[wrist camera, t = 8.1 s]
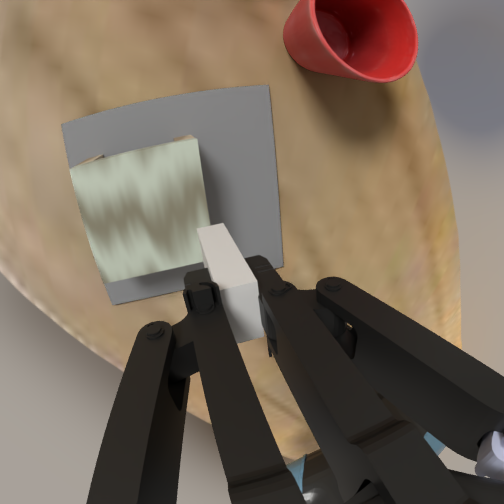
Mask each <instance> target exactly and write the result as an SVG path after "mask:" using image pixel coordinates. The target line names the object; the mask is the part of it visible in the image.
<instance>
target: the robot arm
mask: <svg viewBox="0 0 504 504" xmlns="http://www.w3.org/2000/svg"><path fill="white" fill-rule="evenodd" d="M197 233H198V238H199V243H200V248H201V253H202V258H203V262H204V267H205V268H203V269H199V270H195V271H190V272H187V273H186V275H185V277H184V285H185V289H184V291H183V297H184V301H185V304H186V308H187V311H188V314H187V316H186V317H185V318H184V319H183V320H182V321H180V322H179V323H177V324H175V325H173V326H171V325H170V324H169V323H167V322H165V321H156V322H151V323H149V324H147V325H145V326H144V327H143V328H141V329H140V331H139V332H138V334H137V337H136V340H135V343H134V345H133V348H132V351H131V354H130V356H129V359H128V362H127V365H126V368H125V371H124V374H123V377H122V380H121V383H120V385H119V388H118V392H117V395H116V398H115V401H114V404H113V407H112V410H111V413H110V417H109V420H108V423H107V427H106V430H105V433H104V437H103V440H102V444H101V448H100V451H99V455H98V459H97V462H96V467H95V470H94V474H93V478H92V482H91V487H90V490H89V495H88V499H87V504H176V501H177V489H178V479H179V470H180V459H181V451H182V441H183V433H184V424H185V416H186V409H187V401H188V393H189V386H190V376H191V375H193V374H194V373H196V372H198V371H199V372H200V376H201V381H202V385H203V390H204V394H205V398H206V403H207V407H208V411H209V415H210V419H211V423H212V427H213V431H214V435H215V439H216V443H217V446H218V450H219V453H220V457H221V461H222V464H223V468H224V471H225V475H226V478H227V482H228V492H229V496H230V500H231V503H232V504H504V377H503V376H502V375H500V374H499V373H497V372H495V371H494V370H493V369H491V368H489V367H488V366H486V365H485V364H483V363H482V362H480V361H478V360H477V359H475V358H474V357H472V356H470V355H469V354H467V353H466V352H464V351H462V350H461V349H459V348H458V347H456V346H454V345H453V344H451V343H450V342H448V341H446V340H445V339H443V338H441V337H440V336H438V335H437V334H435V333H433V332H432V331H430V330H428V329H427V328H425V327H424V326H422V325H420V324H419V323H417V322H415V321H414V320H412V319H410V318H409V317H407V316H405V315H404V314H402V313H400V312H399V311H397V310H395V309H394V308H392V307H390V306H389V305H387V304H385V303H384V302H382V301H380V300H379V299H377V298H375V297H374V296H372V295H370V294H369V293H367V292H365V291H364V290H362V289H360V288H358V287H357V286H355V285H353V284H352V283H350V282H348V281H346V280H345V279H342V278H339V277H327V278H323V279H321V280H320V281H318V282H317V284H316V289H313V290H297V288H296V287H295V286H294V285H293V284H292V283H290V282H287V281H283V280H282V278H281V277H280V276H279V274H278V273H277V272H276V270H275V269H274V268H273V266H272V265H271V264H270V262H269V261H268V259H267V258H265V257H263V256H261V255H256V256H252V257H247V258H243V256H242V254H241V252H240V251H239V249H238V247H237V246H236V244H235V242H234V241H233V239H232V237H231V235H230V234H229V232H228V230H227V229H226V227H225V225H224V223H220V224H216V225H211V226H206V227H202V228H197ZM347 323H349V324H350V325H351V326H352V328H351V327H350V326H348V325H347ZM263 328H264V330H265V332H266V334H267V343H268V351H269V357H272V354H273V356H274V358H275V360H276V362H277V364H278V366H279V368H280V370H281V372H282V374H283V376H284V378H285V380H286V382H287V384H288V386H289V388H290V390H291V392H292V394H293V396H294V398H295V400H296V402H297V404H298V406H299V408H300V410H301V412H302V414H303V416H304V418H305V420H306V422H307V423H308V425H309V427H310V429H311V431H312V433H313V435H314V437H315V439H316V441H317V443H318V445H319V447H320V449H319V450H317V451H314V452H312V453H310V454H305V455H304V456H303V457H302V458H300V459H297V460H295V461H294V462H291V463H289V464H287V465H285V462H284V460H283V458H282V455H281V453H280V451H279V448H278V446H277V444H276V441H275V439H274V436H273V434H272V432H271V429H270V427H269V424H268V422H267V420H266V417H265V415H264V412H263V410H262V407H261V405H260V402H259V400H258V397H257V395H256V392H255V390H254V387H253V385H252V382H251V380H250V377H249V374H248V372H247V369H246V367H245V364H244V361H243V359H242V356H241V353H240V351H239V348H238V345H237V344H238V343H241V342H245V341H249V340H253V339H256V338H260V337H264V331H263ZM446 446H447V447H448V448H450V449H451V450H453V451H454V452H456V453H457V454H459V455H461V456H464V457H465V458H467V459H470V460H473V461H476V462H477V464H476V466H475V473H476V474H477V475H478V476H476V475H471V474H466V473H462V472H458V471H454V470H450V469H447V468H446V466H445V465H444V464H443V462H442V461H441V460H440V458H439V457H438V455H439V454H440V453H441V452H442V451H443V449H444V448H445V447H446ZM484 476H488V477H490V478H486V477H484Z"/></svg>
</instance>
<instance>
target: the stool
mask: <svg viewBox="0 0 504 504" xmlns="http://www.w3.org/2000/svg"><path fill="white" fill-rule="evenodd" d="M173 139H174V142H170V143H165V144H160V145H155V146H150V147H146V148H141V149H137V150H133V151H129V152H125V153H120V154H117V155H113V156H109V157H105V158H104V157H103V154H102V155H98V156H95V157H91V158H88V159H86V160H84V161H83V162H81V163H79V164H78V165H76V166H74V167H73V168H71V169H70V174H71V178H72V182H73V187H74V191H75V195H76V198H77V202H78V206H79V210H80V213H81V217H82V220H83V224H84V227H85V230H86V233H87V237H88V240H89V243H90V246H91V249H92V252H93V255H94V258H95V261H96V264H97V267H98V269H99V272H100V275H101V278H102V280H103V283H104V284H106V283H110V282H114V281H119V280H123V279H128V278H132V277H137V276H141V275H146V274H150V273H155V272H159V271H164V270H168V269H173V268H177V267H182V266H186V265H191V264H195V263H200V262H203V258H202V253H201V248H200V243H199V238H198V233H197V228H202V227H206V226H211V225H210V219H209V213H208V207H207V201H206V194H205V188H204V181H203V175H202V168H201V161H200V155H199V148H198V140H197V139H196V138H195V137H193V136H192V135H186V136H181V137H176V138H173Z"/></svg>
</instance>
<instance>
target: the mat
mask: <svg viewBox="0 0 504 504" xmlns="http://www.w3.org/2000/svg"><path fill="white" fill-rule="evenodd" d="M61 126H62V132H63V137H64V143H65V148H66V153H67V158H68V163H69V167H70V169H71V168H73V167H74V166H76V165H78V164H79V163H81V162H83V161H84V160H86V159H88V158H91V157H95V156H98V155H102V154H103V157H104V158H105V157H109V156H113V155H117V154H120V153H125V152H129V151H133V150H137V149H141V148H146V147H150V146H155V145H160V144H165V143H170V142H174V139H173V138H176V137H181V136H186V135H192V136H193V137H195V138H196V139H197V140H198V148H199V155H200V161H201V168H202V175H203V181H204V188H205V194H206V201H207V207H208V213H209V219H210V225H216V224H220V223H224V225H225V227H226V229H227V230H228V232H229V234H230V235H231V237H232V239H233V241H234V242H235V244H236V246H237V247H238V249H239V251H240V252H241V254H242V256H243V258H247V257H252V256H256V255H261V256H263V257H265V258H267V259H268V261H269V262H270V264H271V265H272V266H273V268H274V269H275V268H279V267H283V253H282V238H281V223H280V208H279V195H278V182H277V169H276V157H275V146H274V135H273V124H272V113H271V103H270V93H269V85H256V86H243V87H233V88H223V89H215V90H207V91H199V92H193V93H186V94H180V95H174V96H169V97H163V98H158V99H153V100H148V101H143V102H139V103H134V104H130V105H126V106H122V107H118V108H114V109H110V110H106V111H103V112H99V113H96V114H92V115H89V116H85V117H82V118H79V119H76V120H73V121H69V122H66V123H63V124H61ZM203 268H205V267H204V262H200V263H195V264H191V265H186V266H182V267H177V268H173V269H168V270H164V271H159V272H155V273H150V274H146V275H141V276H137V277H132V278H128V279H123V280H119V281H114V282H110V283H106V284H104V285H105V287H106V290H107V292H108V295H109V298H110V300H111V303H112V305H116V304H121V303H125V302H130V301H135V300H139V299H144V298H148V297H153V296H158V295H162V294H167V293H171V292H176V291H180V290H184V289H185V285H184V277H185V275H186V273H187V272H190V271H195V270H199V269H203Z"/></svg>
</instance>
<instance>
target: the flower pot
mask: <svg viewBox="0 0 504 504" xmlns="http://www.w3.org/2000/svg"><path fill="white" fill-rule="evenodd" d="M283 39H284V43H285V46H286V49H287V51H288V53H289V54H290V55H291V57H292V58H293V59H294V60H295V61H296V62H297V63H298V64H299V65H301V66H302V67H304V68H306V69H308V70H310V71H313V72H318V73H324V74H330V75H335V76H341V77H346V78H351V79H356V80H362V81H368V82H375V83H388V82H393V81H396V80H398V79H400V78H402V77H403V76H405V75H406V74H407V73H408V72H409V71H410V70H411V68H412V67H413V65H414V63H415V60H416V57H417V52H418V35H417V29H416V25H415V22H414V19H413V17H412V14H411V12H410V10H409V9H408V7H407V5H406V3H405V2H404V0H300V1H299V2H298V4H297V5H296V7H295V8H294V10H293V11H292V13H291V14H290V16H289V18H288V19H287V21H286V23H285V26H284V31H283Z"/></svg>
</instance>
